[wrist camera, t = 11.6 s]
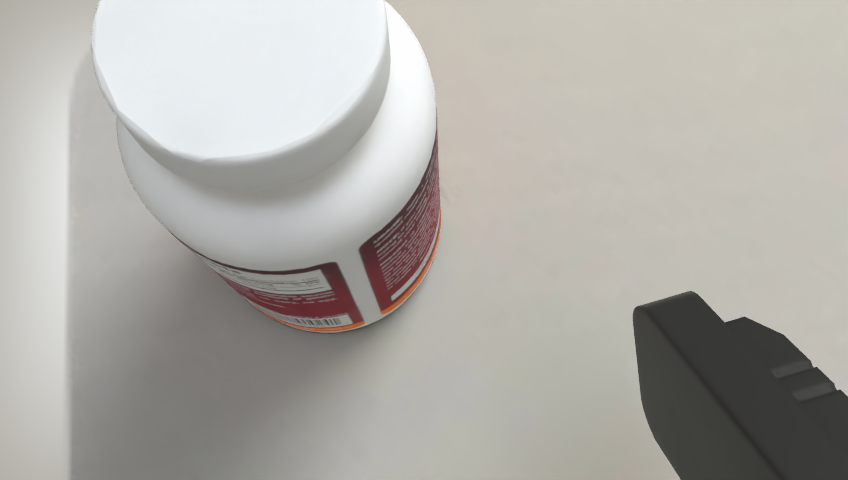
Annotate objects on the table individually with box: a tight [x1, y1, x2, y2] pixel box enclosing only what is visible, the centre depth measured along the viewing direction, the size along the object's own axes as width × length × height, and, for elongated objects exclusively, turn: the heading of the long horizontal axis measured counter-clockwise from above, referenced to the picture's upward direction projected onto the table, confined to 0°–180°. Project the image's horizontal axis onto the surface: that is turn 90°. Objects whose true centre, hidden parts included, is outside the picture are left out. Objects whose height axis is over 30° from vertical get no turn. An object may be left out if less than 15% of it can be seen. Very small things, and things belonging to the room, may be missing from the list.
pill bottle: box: [91, 0, 441, 333], centre depth 18 cm, size 6×6×11 cm
